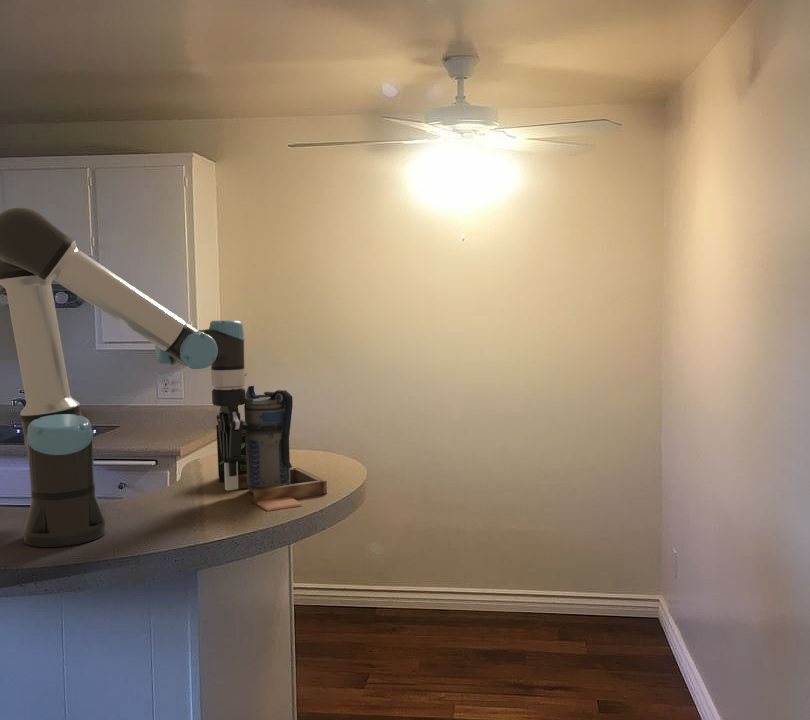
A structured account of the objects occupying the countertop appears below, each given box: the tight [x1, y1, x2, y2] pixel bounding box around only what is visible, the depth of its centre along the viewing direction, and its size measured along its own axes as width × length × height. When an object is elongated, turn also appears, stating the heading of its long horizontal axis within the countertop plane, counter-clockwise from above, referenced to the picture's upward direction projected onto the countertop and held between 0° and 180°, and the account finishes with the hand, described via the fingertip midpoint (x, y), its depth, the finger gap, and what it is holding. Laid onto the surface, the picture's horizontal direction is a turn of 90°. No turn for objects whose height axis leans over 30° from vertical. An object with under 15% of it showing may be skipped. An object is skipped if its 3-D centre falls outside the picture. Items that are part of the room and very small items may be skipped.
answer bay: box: [237, 467, 328, 505], centre depth 197 cm, size 17×18×3 cm
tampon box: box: [216, 419, 249, 483], centre depth 211 cm, size 11×9×15 cm
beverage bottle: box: [243, 385, 294, 494], centre depth 195 cm, size 10×13×25 cm
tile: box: [256, 497, 303, 512], centre depth 184 cm, size 8×8×1 cm
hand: (231, 489), depth 191 cm, fingers closed
